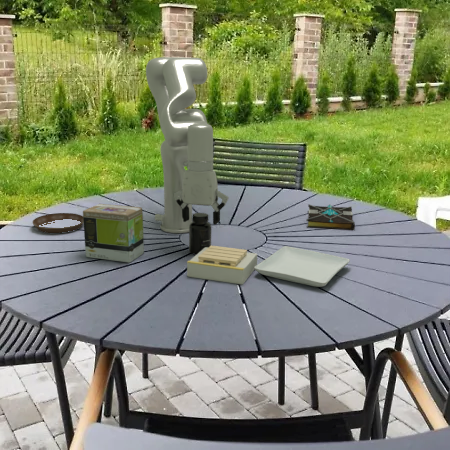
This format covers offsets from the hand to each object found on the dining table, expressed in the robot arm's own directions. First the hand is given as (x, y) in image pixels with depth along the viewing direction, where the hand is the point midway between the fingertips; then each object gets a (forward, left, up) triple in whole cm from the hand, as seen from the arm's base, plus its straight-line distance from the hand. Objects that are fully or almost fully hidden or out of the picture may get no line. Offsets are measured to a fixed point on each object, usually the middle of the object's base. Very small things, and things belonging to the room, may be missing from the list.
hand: (201, 222), depth 175 cm
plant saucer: (-56, +7, -10) cm, 57 cm away
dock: (+11, -12, -10) cm, 20 cm away
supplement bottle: (-1, +1, -10) cm, 10 cm away
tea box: (-24, -11, -10) cm, 28 cm away
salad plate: (+33, -5, -11) cm, 35 cm away
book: (+32, +50, -11) cm, 60 cm away
